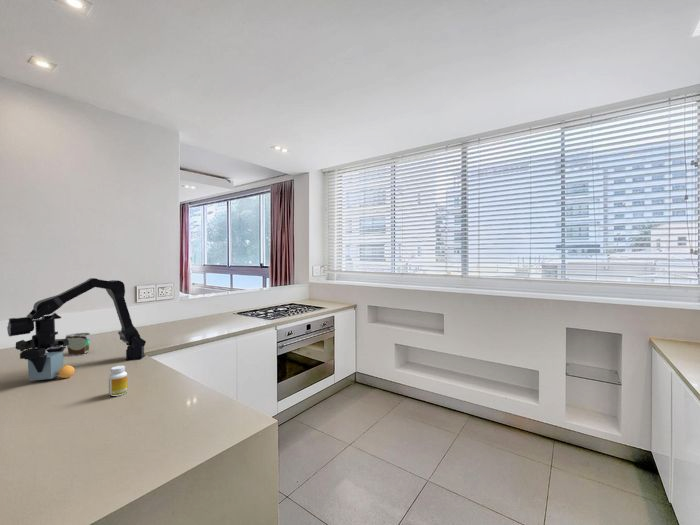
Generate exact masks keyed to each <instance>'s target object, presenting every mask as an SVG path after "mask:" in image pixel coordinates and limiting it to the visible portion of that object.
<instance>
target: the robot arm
mask: <svg viewBox="0 0 700 525" xmlns="http://www.w3.org/2000/svg"><path fill="white" fill-rule="evenodd" d="M95 288H97V289H98V288H99V289H103V290H105V291H106V292H107V294H108V295H109V298H111V299H112V301H113V305H114V308H115V310H116V314H117V317H118V320H119V323H120V326H121V330H120V331H117V334H118V335H119V340H121V341H122V342H123V343H125V344H126V350H125V360H126V361H130V360H131V361H132V360H133V361H134V359H135V360H142V359H143V358H144V357H146V354H145V346H146V343H147V341H146V340H145V339H143V338H141V335H140V333H139V331H138V330H137V328H136V327H135V325H134V324H133V322H132V318H131V315H130V312H129V308H128V305H127V302H126V300H125V295H126V288H125V283H124V282H123V281H121V280H115V279H112V280H104V279H98V278H95V277H93V278H92V277H91V278H88V279H87V280H85V281H83V282H81V283H79V284H77V285H75V286H73V287H71V288H69V289H67V290H65V291H63V292H61V293H59V294H57V295H53V296H49V297H46V298H44V299H40V300H37V301H36V302H35V303H34V304H33V308H32V309H31V311H30V312H29V313H28V314H27V315H26V316H24V317H11V318H8V322H7V326H6V329H7V335H8V337H13V336H14V337H16V336H20V335H28V334H31V333H32V332H33V331H34V330H35V334H33V335H32V336H31V339H29V340H24V339H21V340H19V341H16V342H15V349H16V350H18V351H20V353H19V359H20V360H23V359H24V360H27V361H28V360H30V361H31V362H32V363H33V365H34V366H35V368H36V370H37V372H38V373H40V372H42V370H43V367H44V364H45V360H46V357H47V355H45V353H49V352H63V353H64V351H65V349H66V348H67V345H69V340H67V339H65V338H56V335H59V331H56V321H55V320H57V319H58V320H59V319H62V316H60V315H58V313H56V311H57V310H58V309H60V308H62V306H64V304H66V303H67V302H69V301H71V300H73V299H75V298H77V297H79V296H80V295H82V294H85V293H87V292H89V291H90V290H92V289H95Z"/></svg>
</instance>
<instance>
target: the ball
mask: <svg viewBox="0 0 700 525" xmlns="http://www.w3.org/2000/svg"><path fill="white" fill-rule="evenodd" d="M73 374H75V368H74V367H73V366H72V365H68V364H67V365H63V367H62V368H60V370H59V371H58V375H57V376H59V378H62V379H67V378H70V377H72V376H73Z"/></svg>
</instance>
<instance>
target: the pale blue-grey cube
mask: <svg viewBox="0 0 700 525" xmlns="http://www.w3.org/2000/svg"><path fill="white" fill-rule="evenodd" d="M45 355H47V357H46V360H45V364H44V367H43V370H42V372H40V373H38V372H37V370H36V368H35V366H34V365H33V363H32V362H31V361H30V360H28V359H27V368H28V369H27V370H28V382H30V381H42V380H43V381H44V380H52V379H54V378H55V377H57V376H59V375H58V371H59V370H60V368H62V367H63V366H64V351H63V352H46V353H45Z"/></svg>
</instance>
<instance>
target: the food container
mask: <svg viewBox="0 0 700 525" xmlns="http://www.w3.org/2000/svg"><path fill="white" fill-rule="evenodd" d="M64 339H67V340H69V345H67V346H66V348H67V354H68V355H70V354H86V355H87V353H88V352H89V351H90V341H91V339H92V334H91V333H90V332H76V333H71V334H66V336H65V338H64ZM89 353H90V352H89ZM89 353H88V354H89Z"/></svg>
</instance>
